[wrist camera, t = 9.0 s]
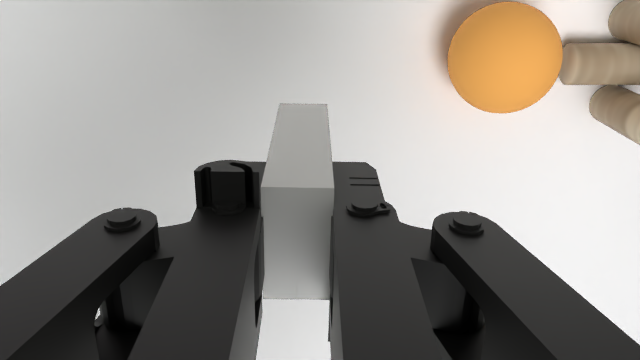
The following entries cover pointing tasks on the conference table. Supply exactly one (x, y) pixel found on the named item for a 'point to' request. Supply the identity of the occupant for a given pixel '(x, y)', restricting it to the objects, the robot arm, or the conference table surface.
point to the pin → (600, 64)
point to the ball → (505, 57)
